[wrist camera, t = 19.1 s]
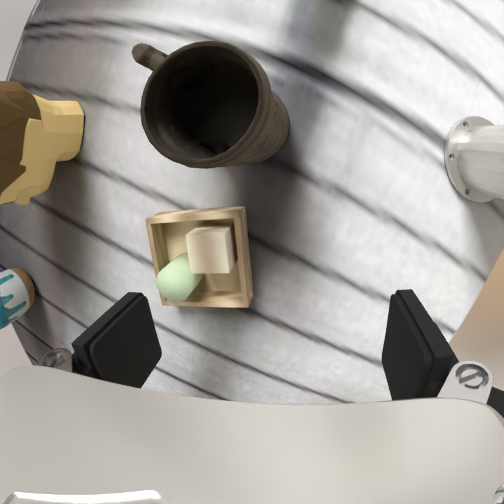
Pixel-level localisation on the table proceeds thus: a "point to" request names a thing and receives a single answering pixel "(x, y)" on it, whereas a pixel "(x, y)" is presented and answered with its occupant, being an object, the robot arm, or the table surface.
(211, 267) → the cream block
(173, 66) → the beer stein
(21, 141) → the head
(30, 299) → the vase
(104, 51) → the table surface
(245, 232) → the box
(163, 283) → the green cylinder
